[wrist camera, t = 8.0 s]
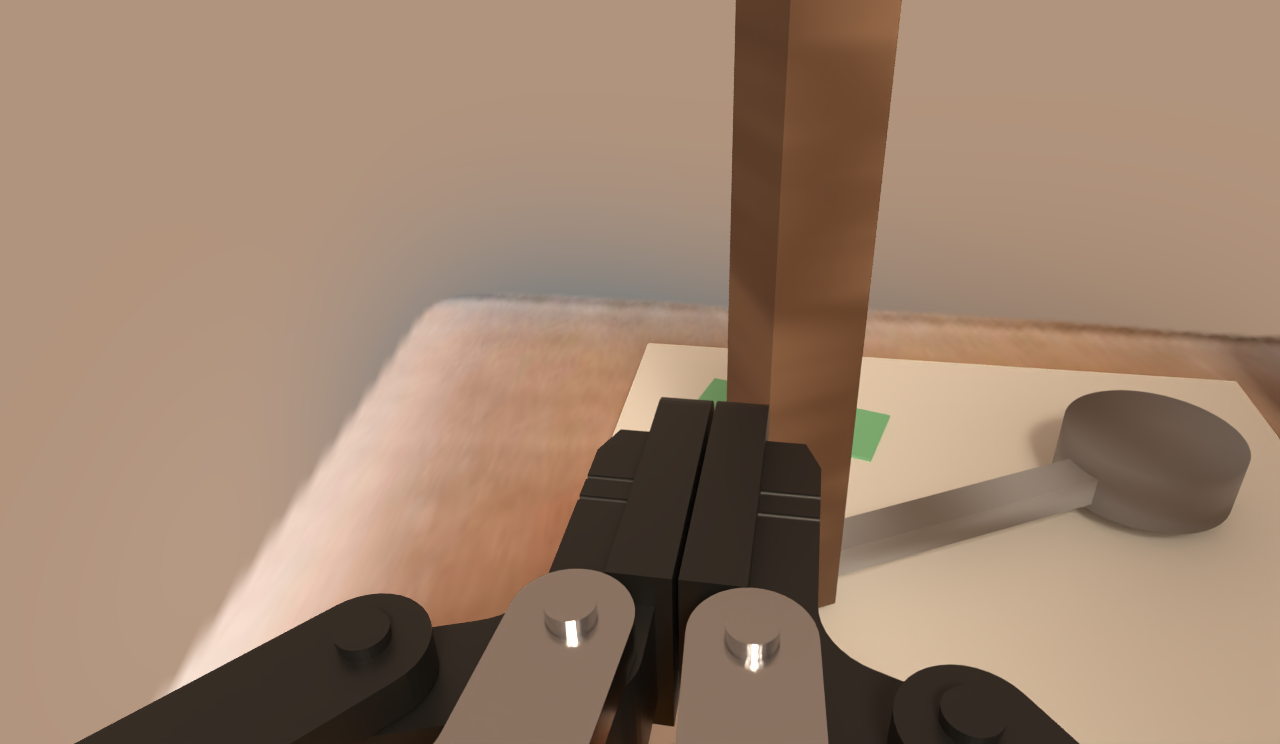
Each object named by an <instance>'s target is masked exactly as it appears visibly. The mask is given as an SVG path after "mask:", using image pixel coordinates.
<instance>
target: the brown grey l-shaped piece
mask: <svg viewBox="0 0 1280 744" xmlns="http://www.w3.org/2000/svg"><path fill="white" fill-rule="evenodd" d="M901 2H902V0H736V21H735V64H734V65H735V66H734V106H733V150H732V194H731V235H730V280H729V282H730V283H729V321H728V364H727V402H739V403H753V404H766V405H770V419H769V439H768V441H773V442H786V443H798V444H806V445H807V446H808V448H809V450H810V451H811V453H812V454H813V456H814V458H815V459H816V461H817V462H818V464H819V466H820V467H821V499H820V501H821V506H820V548H819V590H818V608H820V607H824V606H827V605H831V604H834V603H835V600H836V591H837V582H838V576H840V575H844V574H847V573H851V572H854V571H858V570H861V569H865V568H868V567H872V566H876V565H879V564H883V563H886V562H890V561H893V560H897V559H900V558H904V557H907V556H911V555H914V554H918V553H921V552H925V551H928V550H932V549H935V548H939V547H942V546H946V545H949V544H953V543H956V542H960V541H964V540H967V539H971V538H974V537H978V536H981V535H985V534H988V533H992V532H995V531H999V530H1002V529H1006V528H1009V527H1013V526H1016V525H1020V524H1023V523H1027V522H1030V521H1034V520H1037V519H1041V518H1045V517H1048V516H1052V515H1055V514H1059V513H1062V512H1066V511H1069V510H1073V509H1076V508H1080V507H1085V508H1087V509H1088V510H1090V511H1092V512H1094V513H1096V514H1098V515H1100V516H1102V517H1104V518H1106V519H1108V520H1111V521H1113V522H1116V523H1119V524H1122V525H1125V526H1128V527H1132V528H1135V529H1139V530H1144V531H1149V532H1155V533H1163V534H1191V533H1199V532H1203V531H1207V530H1210V529H1212V528H1215V527H1217V526H1218V525H1220V524H1222V523H1223V522H1224V521H1225V520H1226V519H1227V518H1228V516H1229V515H1230V513H1231V510H1232V508H1233V505H1234V502H1235V500H1236V497H1237V495H1238V492H1239V489H1240V487H1241V484H1242V482H1243V479H1244V477H1245V474H1246V471H1247V469H1248V466H1249V464H1250V460H1251V451H1250V448H1249V445H1248V444H1247V442H1246V440H1245V439H1244V438H1243V436H1242V435H1241V434H1240V433H1239V432H1238V431H1237V430H1236V429H1235V428H1234V427H1232V426H1231V425H1230V424H1228V423H1227V422H1226V421H1224V420H1223V419H1221V418H1219V417H1218V416H1216V415H1214V414H1212V413H1211V412H1209V411H1207V410H1204V409H1202V408H1200V407H1198V406H1195V405H1193V404H1190V403H1188V402H1185V401H1182V400H1178V399H1175V398H1172V397H1168V396H1164V395H1159V394H1154V393H1148V392H1142V391H1132V390H1108V391H1100V392H1094V393H1090V394H1087V395H1084V396H1082V397H1079V398H1077V399H1076V400H1074V401H1073V402H1072V403H1071V404H1070V405H1069V406H1068V407H1067V409H1066V410H1065V414H1064V418H1063V422H1062V426H1061V430H1060V434H1059V438H1058V442H1057V446H1056V450H1055V454H1054V458H1053V462H1052V463H1051V464H1048V465H1044V466H1040V467H1036V468H1033V469H1029V470H1025V471H1021V472H1017V473H1014V474H1010V475H1006V476H1002V477H999V478H995V479H991V480H987V481H983V482H980V483H976V484H972V485H968V486H964V487H961V488H957V489H953V490H949V491H946V492H942V493H938V494H934V495H930V496H927V497H923V498H919V499H915V500H912V501H908V502H904V503H900V504H896V505H893V506H889V507H885V508H881V509H878V510H874V511H870V512H866V513H862V514H859V515H855V516H851V517H847V518H845V509H846V500H847V491H848V482H849V473H850V464H851V455H852V446H853V437H854V428H855V419H856V410H857V401H858V392H859V383H860V374H861V365H862V356H863V347H864V338H865V329H866V320H867V310H868V301H869V291H870V283H871V274H872V265H873V256H874V247H875V238H876V229H877V220H878V211H879V202H880V192H881V184H882V174H883V166H884V157H885V147H886V138H887V130H888V120H889V111H890V102H891V93H892V84H893V75H894V66H895V57H896V48H897V39H898V30H899V21H900V12H901Z"/></svg>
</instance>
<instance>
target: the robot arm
mask: <svg viewBox="0 0 1280 744" xmlns="http://www.w3.org/2000/svg"><path fill="white" fill-rule="evenodd" d="M769 419H770V405H766V404H753V403H739V402H726V401H717V403H716V407H715V408H714V401H709V400H696V399H683V398H669V397H661V399H660V401H659V403H658V406H657V410H656V413H655V416H654V419H653V422H652V425H651V428H650V431H649V432H648V431H636V430H624V429H621V430H620V431H618V432H617V433H616V434H615V435H614V436H613V437H612V438H610V439H609V440H608V441H607V442H606V443H605V444H604V445H602V446H601V447H600V448H599V449H598V450H597V453H596V455H595V458H594V460H593V463H592V465H591V468H590V470H589V473H588V479H586V481H585V483H584V486H583V488H582V491H581V493H580V499H579V500H578V501H577V503H576V506H575V508H574V511H573V513H572V516H571V518H570V521H569V523H568V526H567V528H566V531H565V533H564V536H563V539H562V541H561V544H560V546H559V549H558V551H557V554H556V556H555V559H554V561H553V564H552V566H551V569H550V571H549V573H548V574H546V575H543V576H541V577H539V578H537V579H535V580H533V581H531V582H530V583H529V584H527V585H526V586H525V587H523V588H522V589H521V590H520V591H519V592H518V593H517V594H516V596H515V597H514V599H513V600H512V602H511V603H510V605H509V607H508V609H507V611H506V613H504V614H502V615H499V616H496V617H493V618H489V619H484V620H479V621H473V622H466V623H459V624H452V625H445V626H437V627H432V625H431V621H430V618H429V616H428V614H427V612H426V611H425V610H424V608H423V607H422V606H420V605H419V604H418V603H417V602H415V601H413V600H411V599H410V598H407V597H404V596H401V595H395V594H370V595H365V596H360V597H356V598H353V599H350V600H347V601H345V602H343V603H341V604H338V605H336V606H334V607H332V608H331V609H329V610H327V611H325V612H323V613H321V614H319V615H317V616H315V617H314V618H312V619H310V620H308V621H306V622H304V623H302V624H300V625H298V626H296V627H295V628H293V629H291V630H289V631H287V632H285V633H283V634H281V635H279V636H278V637H276V638H274V639H272V640H270V641H268V642H266V643H264V644H262V645H260V646H259V647H257V648H255V649H253V650H251V651H249V652H247V653H245V654H243V655H242V656H240V657H238V658H236V659H234V660H232V661H230V662H228V663H226V664H225V665H223V666H221V667H219V668H217V669H215V670H213V671H211V672H209V673H207V674H206V675H204V676H202V677H200V678H198V679H196V680H194V681H192V682H190V683H189V684H187V685H185V686H183V687H181V688H179V689H177V690H175V691H173V692H171V693H170V694H168V695H166V696H164V697H162V698H160V699H158V700H156V701H154V702H153V703H151V704H149V705H147V706H145V707H143V708H142V709H139V710H137V711H136V712H134V713H132V714H130V715H128V716H126V717H124V718H122V719H120V720H118V721H117V722H115V723H113V724H111V725H109V726H107V727H105V728H103V729H101V730H100V731H98V732H96V733H94V734H92V735H90V736H88V737H86V738H84V739H82V740H81V741H79V742H77V743H75V744H648V743H649V739H650V734H651V729H652V724H658V725H665V726H672V727H674V725H675V720H676V715H677V709H678V718H677V729H676V740H675V744H1079V743H1078V742H1077V741H1076V740H1075V739H1074V738H1073V737H1072V736H1071V735H1069V734H1068V733H1067V732H1066V731H1065V730H1064V729H1063V728H1062V727H1061V726H1060V725H1058V724H1057V723H1056V722H1055V721H1054V720H1053V719H1052V718H1051V717H1050V716H1048V715H1047V714H1046V713H1045V712H1044V711H1043V710H1042V709H1041V708H1040V707H1038V706H1037V705H1036V704H1035V703H1034V702H1033V701H1032V700H1031V699H1030V698H1029V697H1027V696H1026V695H1025V694H1024V693H1023V692H1021V691H1020V690H1019V689H1018V688H1016V687H1015V686H1014V685H1012V684H1011V683H1009V682H1008V681H1006V680H1004V679H1003V678H1001V677H999V676H996V675H994V674H992V673H990V672H987V671H984V670H981V669H978V668H974V667H970V666H965V665H954V664H947V665H936V666H931V667H927V668H925V669H922V670H919V671H917V672H916V673H914V674H912V675H911V676H909V677H908V678H907V679H906V680H905V681H901V680H899V679H896V678H894V677H891V676H889V675H886V674H884V673H881V672H878V671H876V670H874V669H871V668H869V667H867V666H865V665H863V664H861V663H859V662H858V661H856V660H854V659H853V658H851V657H850V656H849V655H847V654H846V653H845V652H843V651H842V650H841V649H840V648H839V647H838V646H837V645H836V644H835V643H834V642H833V641H832V639H831V638H830V637H829V635H828V634H827V633H826V631H825V629H824V627H823V625H822V623H821V619H820V616H819V609H818V590H819V548H820V506H821V501H820V499H821V467H820V466H819V464H818V462H817V461H816V459H815V458H814V456H813V454H812V453H811V451H810V450H809V448H808V446H807V445H806V444H798V443H786V442H773V441H768V439H769ZM678 704H679V707H678Z"/></svg>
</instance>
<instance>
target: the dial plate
mask: <svg viewBox="0 0 1280 744" xmlns="http://www.w3.org/2000/svg"><path fill="white" fill-rule="evenodd" d="M727 364H728V348H717V347H701V346H686V345H670V344H655V343H648V345H647V347H646V350H645V353H644V355H643V358H642V360H641V363H640V366H639V368H638V371H637V374H636V376H635V379H634V381H633V384H632V387H631V389H630V392H629V394H628V397H627V400H626V402H625V405H624V408H623V410H622V413H621V415H620V418H619V421H618V423H617V426H616V428H615V431H614V434H613V436H614V435H615V434H616V433H617V432H618V431H620V430H621V429H624V430H636V431H648V432H649V431H650V428H651V425H652V422H653V419H654V416H655V413H656V410H657V406H658V403H659V401H660V399H661V397H669V398H683V399H696V400H709V401H714V408H715V407H716V403H717V401H726V402H727ZM1108 390H1132V391H1142V392H1148V393H1154V394H1159V395H1164V396H1168V397H1172V398H1175V399H1178V400H1182V401H1185V402H1188V403H1190V404H1193V405H1195V406H1198V407H1200V408H1202V409H1204V410H1207V411H1209V412H1211V413H1212V414H1214V415H1216V416H1218V417H1219V418H1221V419H1223V420H1224V421H1226V422H1227V423H1228V424H1230V425H1231V426H1232V427H1234V428H1235V429H1236V430H1237V431H1238V432H1239V433H1240V434H1241V435H1242V436H1243V438H1244V439H1245V440H1246V442H1247V444H1248V445H1249V448H1250V451H1251V460H1250V464H1249V466H1248V469H1247V471H1246V474H1245V477H1244V479H1243V482H1242V484H1241V487H1240V489H1239V492H1238V495H1237V497H1236V500H1235V502H1234V505H1233V508H1232V510H1231V513H1230V515H1229V516H1228V518H1227V519H1226V520H1225V521H1224V522H1223V523H1222V524H1220V525H1218V526H1217V527H1215V528H1212V529H1210V530H1207V531H1203V532H1199V533H1191V534H1163V533H1155V532H1149V531H1144V530H1139V529H1135V528H1132V527H1128V526H1125V525H1122V524H1119V523H1116V522H1113V521H1111V520H1108V519H1106V518H1104V517H1102V516H1100V515H1098V514H1096V513H1094V512H1092V511H1090V510H1088V509H1087V508H1085V507H1080V508H1076V509H1073V510H1069V511H1066V512H1062V513H1059V514H1055V515H1052V516H1048V517H1045V518H1041V519H1037V520H1034V521H1030V522H1027V523H1023V524H1020V525H1016V526H1013V527H1009V528H1006V529H1002V530H999V531H995V532H992V533H988V534H985V535H981V536H978V537H974V538H971V539H967V540H964V541H960V542H956V543H953V544H949V545H946V546H942V547H939V548H935V549H932V550H928V551H925V552H921V553H918V554H914V555H911V556H907V557H904V558H900V559H897V560H893V561H890V562H886V563H883V564H879V565H876V566H872V567H868V568H865V569H861V570H858V571H854V572H851V573H847V574H844V575H840V576H838V582H837V591H836V600H835V603H834V604H831V605H827V606H824V607H820V608H818V609H819V616H820V619H821V623H822V625H823V627H824V629H825V631H826V633H827V634H828V635H829V637H830V638H831V639H832V641H833V642H834V643H835V644H836V645H837V646H838V647H839V648H840V649H841V650H842V651H843V652H845V653H846V654H847V655H849V656H850V657H851V658H853V659H854V660H856V661H858V662H859V663H861V664H863V665H865V666H867V667H869V668H871V669H874V670H876V671H878V672H881V673H884V674H886V675H889V676H891V677H894V678H896V679H899V680H901V681H905V680H906V679H907V678H908V677H909V676H911V675H912V674H914V673H916V672H917V671H919V670H922V669H925V668H927V667H931V666H936V665H947V664H954V665H965V666H970V667H974V668H978V669H981V670H984V671H987V672H990V673H992V674H994V675H996V676H999V677H1001V678H1003V679H1004V680H1006V681H1008V682H1009V683H1011V684H1012V685H1014V686H1015V687H1016V688H1018V689H1019V690H1020V691H1021V692H1023V693H1024V694H1025V695H1026V696H1027V697H1029V698H1030V699H1031V700H1032V701H1033V702H1034V703H1035V704H1036V705H1037V706H1038V707H1040V708H1041V709H1042V710H1043V711H1044V712H1045V713H1046V714H1047V715H1048V716H1050V717H1051V718H1052V719H1053V720H1054V721H1055V722H1056V723H1057V724H1058V725H1060V726H1061V727H1062V728H1063V729H1064V730H1065V731H1066V732H1067V733H1068V734H1069V735H1071V736H1072V737H1073V738H1074V739H1075V740H1076V741H1077V742H1078V743H1079V744H1280V438H1279V437H1278V436H1277V434H1276V433H1275V432H1274V430H1273V429H1272V428H1271V426H1270V425H1269V424H1268V423H1267V421H1266V420H1265V419H1264V417H1263V416H1262V415H1261V413H1260V412H1259V411H1258V409H1257V408H1256V407H1255V405H1254V404H1253V403H1252V401H1251V400H1250V399H1249V397H1248V396H1247V395H1246V393H1245V392H1244V391H1243V389H1242V388H1241V387H1240V385H1239V384H1238V383H1237V381H1227V380H1212V379H1197V378H1181V377H1166V376H1150V375H1135V374H1119V373H1104V372H1088V371H1073V370H1057V369H1042V368H1026V367H1011V366H995V365H980V364H964V363H949V362H933V361H918V360H902V359H887V358H871V357H862V365H861V374H860V383H859V392H858V401H857V410H856V419H855V428H854V437H853V446H852V455H851V464H850V473H849V482H848V491H847V500H846V509H845V518H847V517H851V516H855V515H859V514H862V513H866V512H870V511H874V510H878V509H881V508H885V507H889V506H893V505H896V504H900V503H904V502H908V501H912V500H915V499H919V498H923V497H927V496H930V495H934V494H938V493H942V492H946V491H949V490H953V489H957V488H961V487H964V486H968V485H972V484H976V483H980V482H983V481H987V480H991V479H995V478H999V477H1002V476H1006V475H1010V474H1014V473H1017V472H1021V471H1025V470H1029V469H1033V468H1036V467H1040V466H1044V465H1048V464H1051V463H1052V462H1053V458H1054V454H1055V450H1056V446H1057V442H1058V438H1059V434H1060V430H1061V426H1062V422H1063V418H1064V414H1065V410H1066V409H1067V407H1068V406H1069V405H1070V404H1071V403H1072V402H1073V401H1074V400H1076V399H1077V398H1079V397H1082V396H1084V395H1087V394H1090V393H1094V392H1100V391H1108ZM613 436H612V437H613ZM678 707H679V704H678ZM677 718H678V709H677V715H676V720H675V725H674V727H672V726H665V725H658V724H652V729H651V734H650V739H649V743H648V744H675V740H676V729H677Z"/></svg>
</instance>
